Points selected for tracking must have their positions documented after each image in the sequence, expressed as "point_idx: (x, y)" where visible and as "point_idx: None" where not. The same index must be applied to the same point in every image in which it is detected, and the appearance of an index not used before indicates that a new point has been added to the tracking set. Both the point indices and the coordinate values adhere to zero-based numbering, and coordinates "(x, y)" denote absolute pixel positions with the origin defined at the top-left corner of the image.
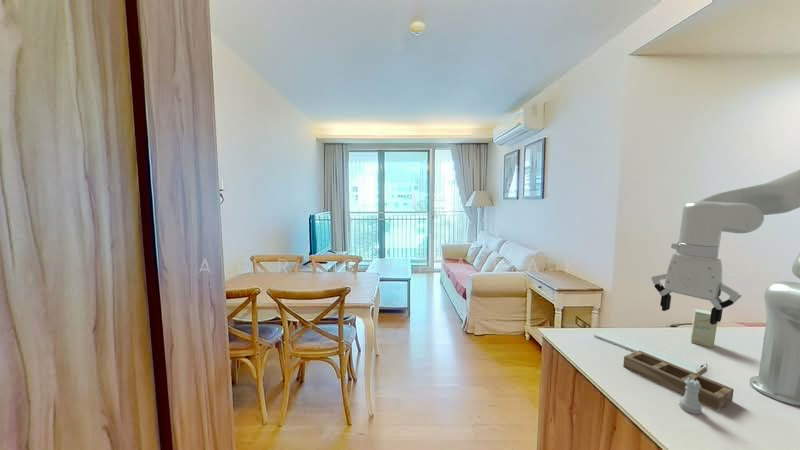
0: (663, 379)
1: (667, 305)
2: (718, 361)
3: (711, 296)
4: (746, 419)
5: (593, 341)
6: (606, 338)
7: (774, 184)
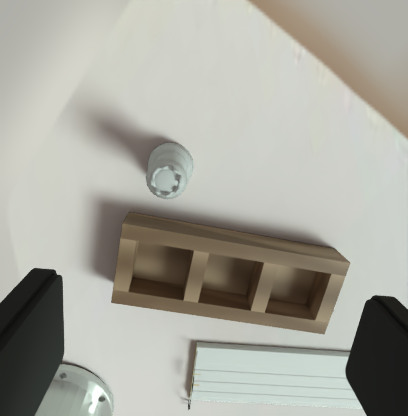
0: (243, 238)
1: (381, 362)
2: None
3: None
4: (81, 226)
5: None
6: None
7: None
